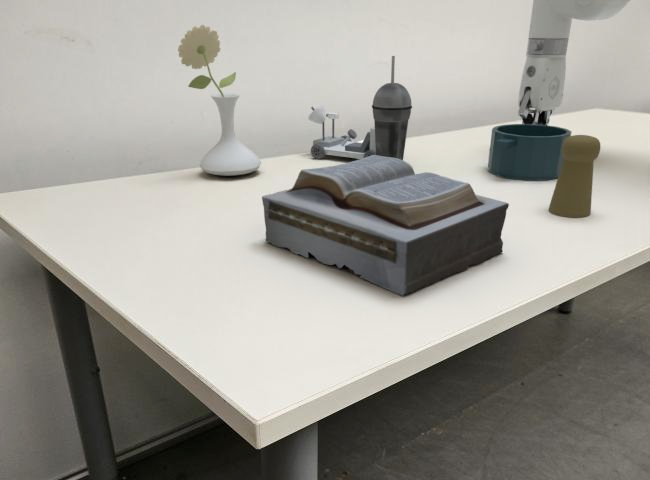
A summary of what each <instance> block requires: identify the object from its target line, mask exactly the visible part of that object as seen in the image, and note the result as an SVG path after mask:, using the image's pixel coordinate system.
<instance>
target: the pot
mask: <svg viewBox="0 0 650 480" xmlns="http://www.w3.org/2000/svg"><path fill="white" fill-rule="evenodd" d="M572 133H573V132H572V130H569V129H567V128H565V127H560V126H555V125H549V124H547V125H536V124H522V123H511V124H509V123H508V124H501V125H495V126H494V127H492V129H491V136H490V143H489V144H490V145H489V152H488V159H487V162H488V163H487V171H488V172H489V173H490V174H492V175H494V176H497V177H500V178H505V179H511V180H518V181H532V182H533V181H535V182H536V181H537V182H538V181H539V182H540V181H550V180H551V181H552V180H558V176H559V173H560V170H561V167H562V163H563V160H564V158H563V156H562V152H561V149H562V144H563V142H564V140H565V139H566V138H567V137H569V136H572Z"/></svg>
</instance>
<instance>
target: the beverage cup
mask: <svg viewBox="0 0 650 480" xmlns="http://www.w3.org/2000/svg"><path fill="white" fill-rule="evenodd" d="M395 60H396V55H392V56H391V68H390V71H391V72H390V82H387V83H385V84H383V85H382V86H380V87H379V88H378V90H377V91H376V92H375V94H374V97H373V100H372V105H371V109H372V116H373V121H374V127H375V143H376V155H377V156H383V157H392V158H397V159H400V160H403V161H404V157H405V156H404V155H405V149H406V148H405V147H406V141H407V134H408V126H409V121H410V117H411V114H412V113H411V112H412V109H413V105H412V98H411V95H410V93H409V91H408V89H407V88H406V87H405V86H404V85H403V84H401V83H399V82H395V66H396V65H395V64H396V63H395V62H396V61H395Z"/></svg>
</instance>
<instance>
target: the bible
mask: <svg viewBox="0 0 650 480" xmlns="http://www.w3.org/2000/svg"><path fill="white" fill-rule="evenodd" d="M261 200H262V206H263V215H264V225H265V242H267V243H270V244H271V245H272V246H273V245H274V246H276V247H279V248H286V249H288V250H290V253H293V254H294V255H296V256H298V255H301V256H302V257H304V258H307V259H309V254H311V256H313V257H314V258H315V259H316V260H317V261H318V262H319V263H322V264H324V265H327V266H333V265H335V266H336V267H337V268H338V269H342V268H343V267H344V266H345V267H346V268H348V269H349V270H351V271H353V273H354V274H355V275H358V276H359V278H361V279H363V280H366V281H368V282H370V283H371V284H372V285H376V286H378V287H380V288H383V289H385V290H387V291H390V292H392V293H394V294H396V295H398V296H400V297H402V298H404V297H405V295H406V294H407V295H408V294H411V293H413V292H416V291H417V290H420V289H422V288H423V287H425V286H429V285H433V284H436V283H437V282H438V281H440V280H443V279H445V278H446V277H448V276H450V277H451V276H452V275H455V274H456V273H461V272H465V271H467V270H469V266H471V265H473V266H474V265H478V264H482V263H483V262H484V261H486V260H489V259H492V257H494V256H496V255H498V254H500V253H503V252H504V251H503V246H504V241H503V239H502V231H503V228H504V225H505V221H506V217H507V210H508V209H509V206H510V205H509V204H510V203H508V202H506V201H502V200H499V199H495V198H491V197H486V196H483V195H479V194H476V193H475V191H474V189H473V187H472V185H471V184H470V183H469V182H466V181H465V182H464V181H462V180H458V179H457V180H456V179H453V178H449V177H447V176H443V175H440V174H437V173H435V172H420V173H415V170H414V168H413V166H412V165H411V164H410V163H409V162H407V161H405V160H404V159H403V160H400V159H397V158H392V157H383V156H377V155H371V156H369V157H366V158H362V159H356V160H353V161H350V162H346V163H345V162H344V163H340V164H335V165H330V166H323V167H316V168H315V167H314V168H304V169H301V170H300V172H299V173H298V175H297V178H296V180H295V182H294V184H293V186H292V188H288V189H284V190H281V191H277V192H273V193H268V194H265V195H263V196H261Z"/></svg>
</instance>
